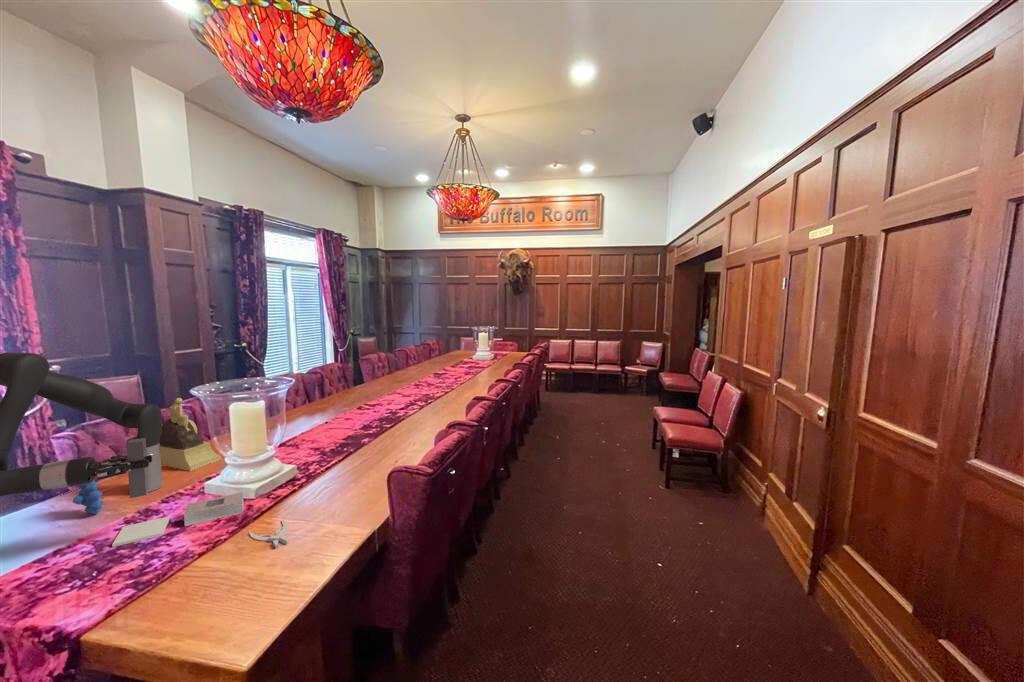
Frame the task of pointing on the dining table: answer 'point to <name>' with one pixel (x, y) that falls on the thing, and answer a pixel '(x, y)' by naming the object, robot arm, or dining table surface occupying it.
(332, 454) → the dining table surface
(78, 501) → the grapes
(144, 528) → the sage pad
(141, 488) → the steel peg
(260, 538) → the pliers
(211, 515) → the grey slotted block
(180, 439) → the seated figure statue
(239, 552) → the dining table surface
